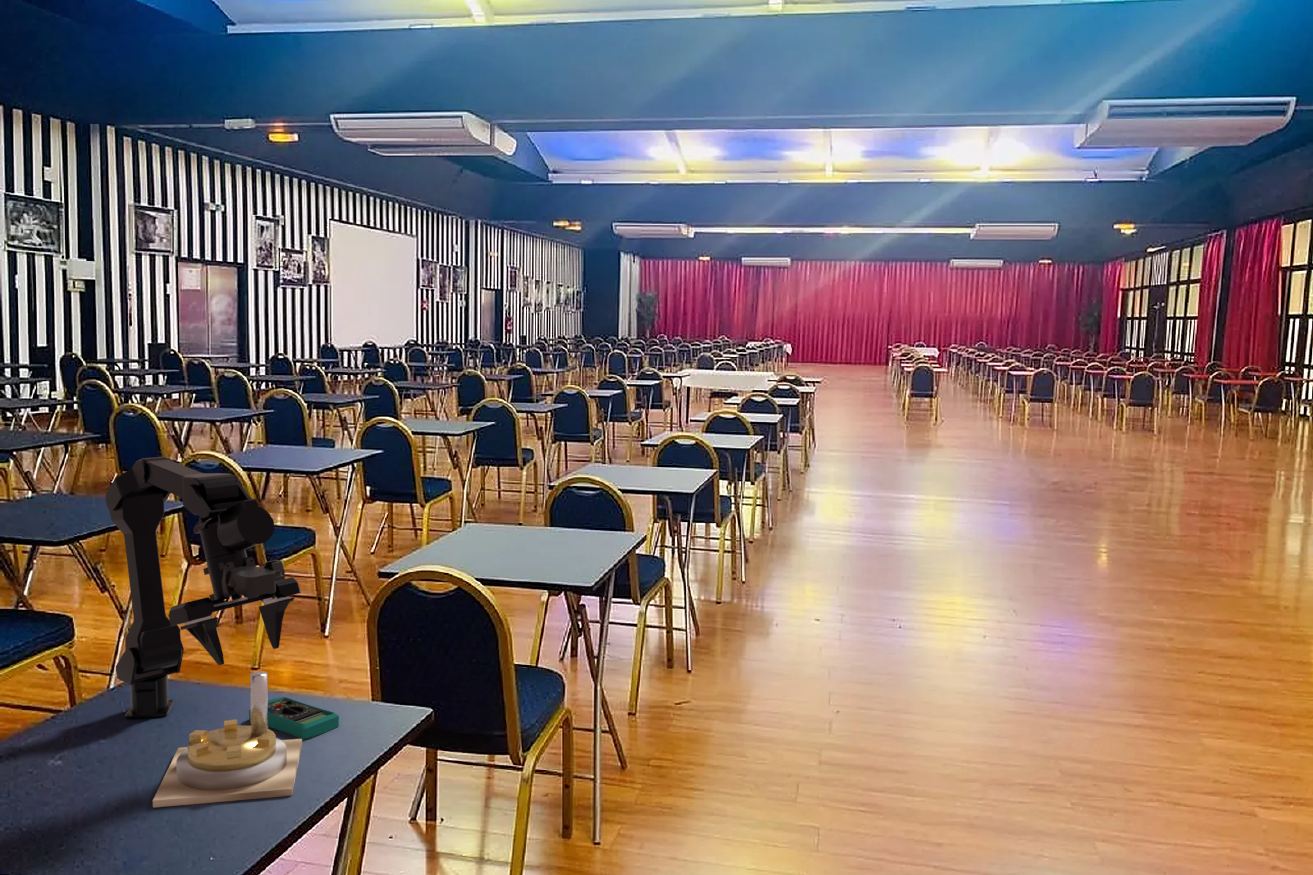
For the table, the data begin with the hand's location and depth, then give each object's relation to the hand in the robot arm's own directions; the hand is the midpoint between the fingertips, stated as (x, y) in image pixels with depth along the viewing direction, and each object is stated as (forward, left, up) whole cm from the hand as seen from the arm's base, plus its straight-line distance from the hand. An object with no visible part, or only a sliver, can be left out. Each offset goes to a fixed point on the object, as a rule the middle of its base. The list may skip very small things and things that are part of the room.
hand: (249, 656), depth 154 cm
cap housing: (+5, -2, -16) cm, 17 cm away
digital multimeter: (-14, +5, -17) cm, 22 cm away
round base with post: (+5, -2, -13) cm, 14 cm away
